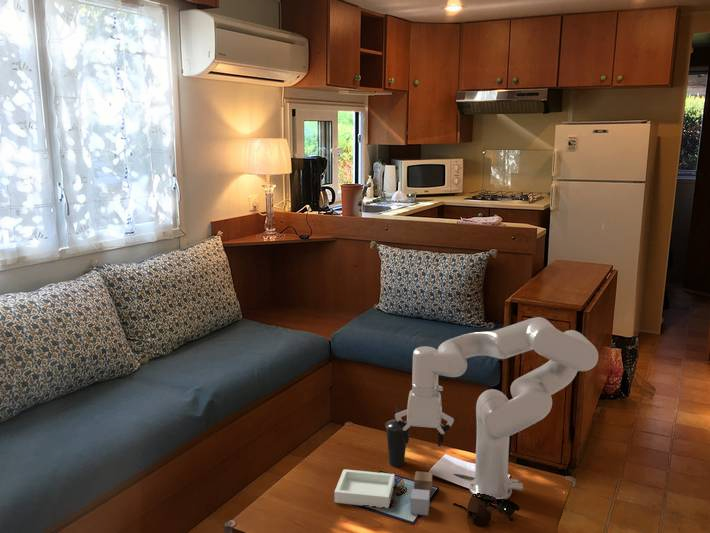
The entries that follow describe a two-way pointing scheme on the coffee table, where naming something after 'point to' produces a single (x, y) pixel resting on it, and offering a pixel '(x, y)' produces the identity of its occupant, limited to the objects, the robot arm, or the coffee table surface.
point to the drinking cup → (395, 442)
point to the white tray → (364, 488)
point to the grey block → (420, 501)
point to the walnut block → (423, 481)
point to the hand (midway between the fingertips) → (423, 442)
